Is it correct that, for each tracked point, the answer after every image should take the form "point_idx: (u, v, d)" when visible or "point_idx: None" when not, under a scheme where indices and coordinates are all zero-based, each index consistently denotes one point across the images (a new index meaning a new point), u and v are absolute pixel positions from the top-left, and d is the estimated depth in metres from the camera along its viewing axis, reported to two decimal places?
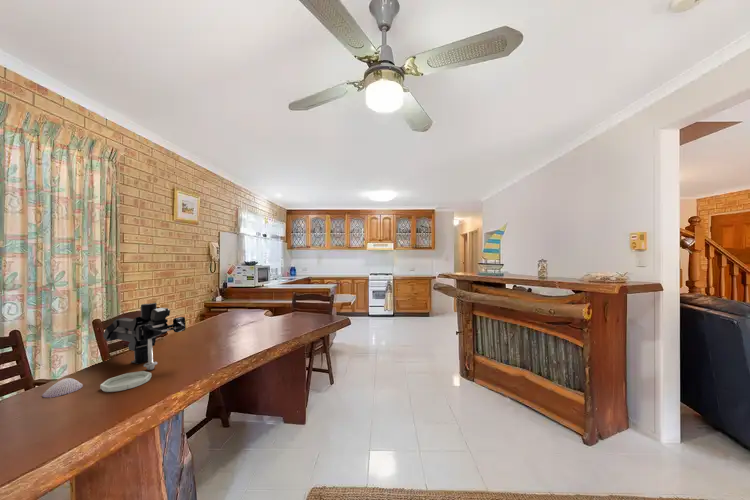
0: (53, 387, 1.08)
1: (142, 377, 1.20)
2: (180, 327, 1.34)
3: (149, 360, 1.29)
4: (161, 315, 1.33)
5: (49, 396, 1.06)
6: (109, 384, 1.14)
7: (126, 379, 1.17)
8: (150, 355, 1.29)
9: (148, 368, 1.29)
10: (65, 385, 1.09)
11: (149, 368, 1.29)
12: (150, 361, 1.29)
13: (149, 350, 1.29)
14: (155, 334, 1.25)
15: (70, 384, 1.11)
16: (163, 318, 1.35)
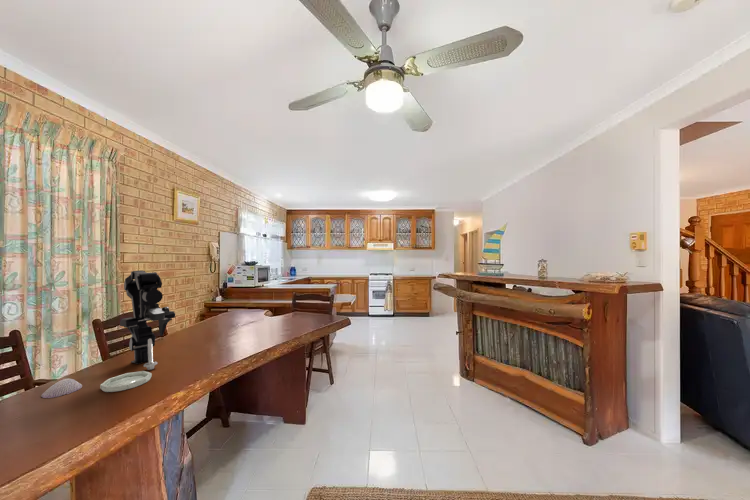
0: (52, 387, 1.08)
1: (142, 377, 1.20)
2: (160, 329, 1.34)
3: (149, 360, 1.29)
4: None
5: (48, 396, 1.06)
6: (109, 384, 1.14)
7: (126, 379, 1.17)
8: (150, 355, 1.29)
9: (148, 368, 1.29)
10: (64, 385, 1.09)
11: (149, 368, 1.29)
12: (150, 361, 1.29)
13: (149, 350, 1.29)
14: (133, 335, 1.25)
15: (69, 384, 1.10)
16: None
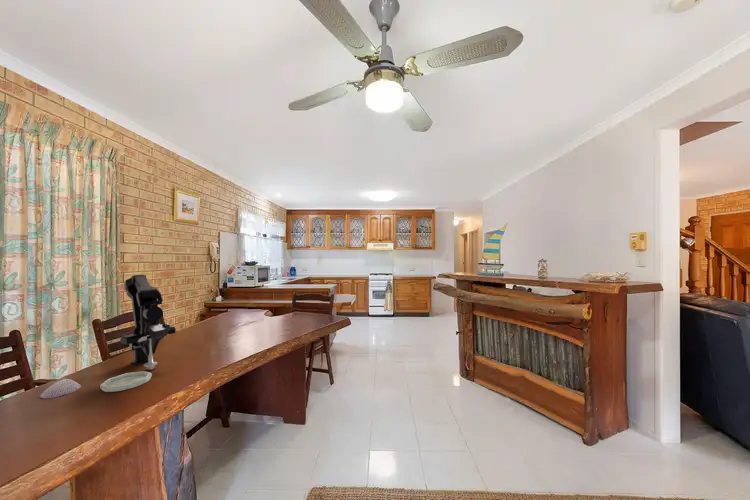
0: (51, 388, 1.08)
1: (142, 377, 1.20)
2: None
3: (149, 360, 1.29)
4: None
5: (47, 397, 1.05)
6: (109, 384, 1.14)
7: (126, 379, 1.17)
8: (150, 355, 1.29)
9: (148, 368, 1.29)
10: (63, 386, 1.09)
11: (149, 368, 1.29)
12: (150, 361, 1.29)
13: (149, 350, 1.29)
14: (143, 349, 1.28)
15: (68, 385, 1.10)
16: None
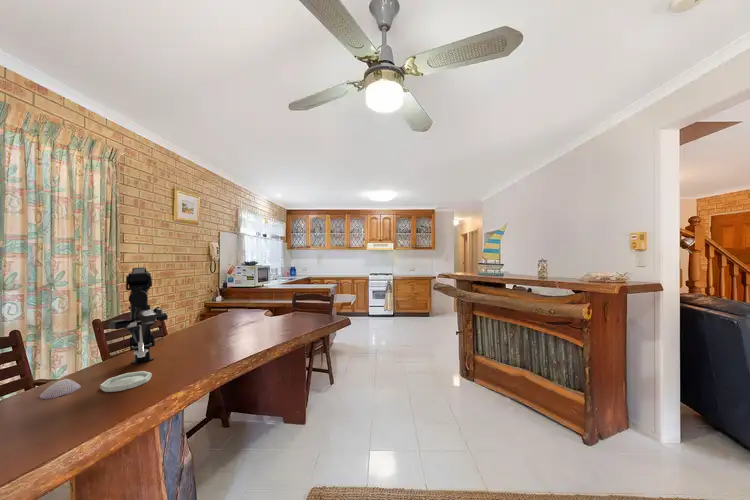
0: (50, 388, 1.07)
1: (142, 377, 1.20)
2: None
3: (139, 347, 1.23)
4: None
5: (46, 397, 1.05)
6: (109, 384, 1.14)
7: (126, 379, 1.17)
8: (140, 342, 1.23)
9: (139, 356, 1.22)
10: (63, 386, 1.09)
11: (140, 356, 1.22)
12: (141, 348, 1.23)
13: (139, 337, 1.23)
14: (133, 336, 1.22)
15: (68, 385, 1.10)
16: None
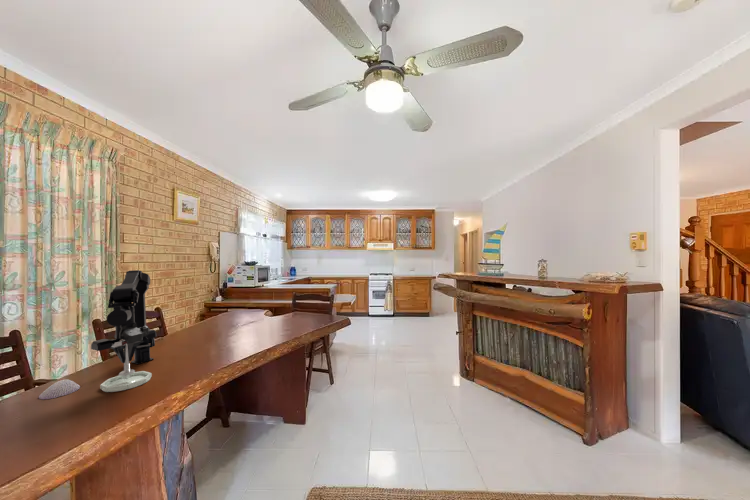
0: (50, 388, 1.07)
1: (142, 377, 1.20)
2: (129, 353, 1.17)
3: (125, 368, 1.15)
4: None
5: (46, 398, 1.05)
6: (109, 384, 1.14)
7: (126, 379, 1.17)
8: (126, 362, 1.15)
9: (124, 377, 1.15)
10: (62, 386, 1.08)
11: (125, 377, 1.15)
12: (126, 369, 1.15)
13: (125, 357, 1.15)
14: (118, 356, 1.14)
15: (67, 385, 1.09)
16: None
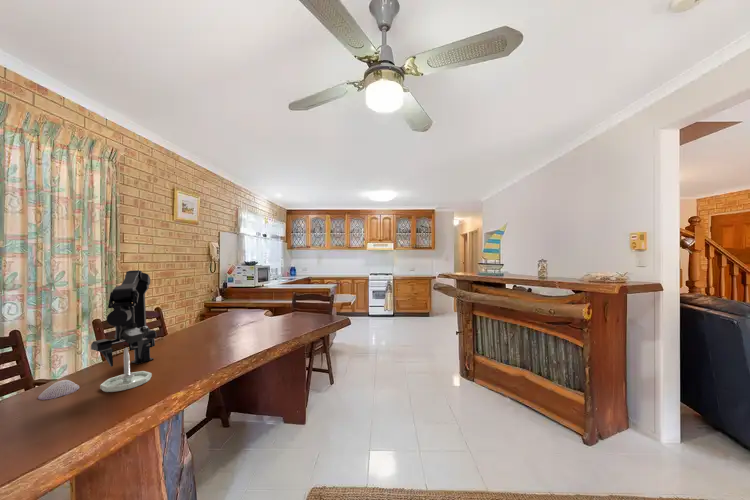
0: (49, 389, 1.07)
1: (142, 377, 1.20)
2: (139, 350, 1.20)
3: (125, 372, 1.15)
4: None
5: (45, 398, 1.04)
6: (109, 384, 1.14)
7: None
8: (126, 366, 1.15)
9: (124, 381, 1.14)
10: (61, 387, 1.08)
11: (125, 381, 1.14)
12: (126, 373, 1.15)
13: (125, 360, 1.15)
14: (107, 359, 1.11)
15: (66, 386, 1.09)
16: None
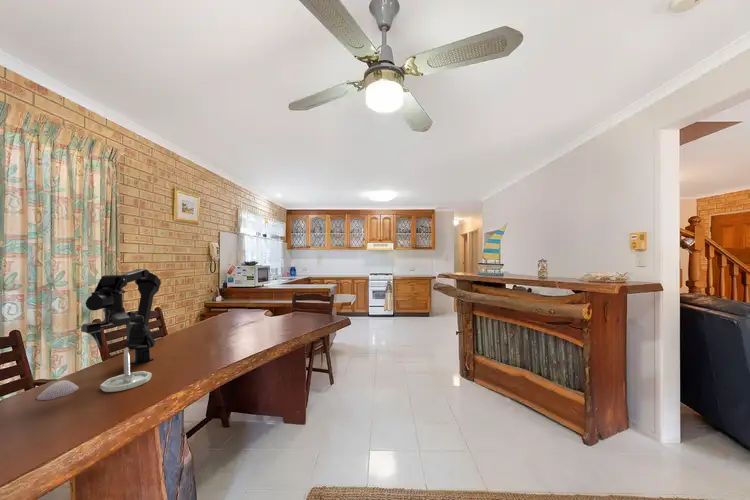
0: (48, 389, 1.06)
1: (142, 377, 1.20)
2: (127, 334, 1.27)
3: (125, 372, 1.15)
4: None
5: (44, 399, 1.04)
6: (109, 384, 1.14)
7: None
8: (126, 366, 1.15)
9: (124, 381, 1.14)
10: (60, 387, 1.08)
11: (125, 381, 1.14)
12: (126, 373, 1.15)
13: (125, 360, 1.15)
14: (96, 341, 1.19)
15: (66, 386, 1.09)
16: None
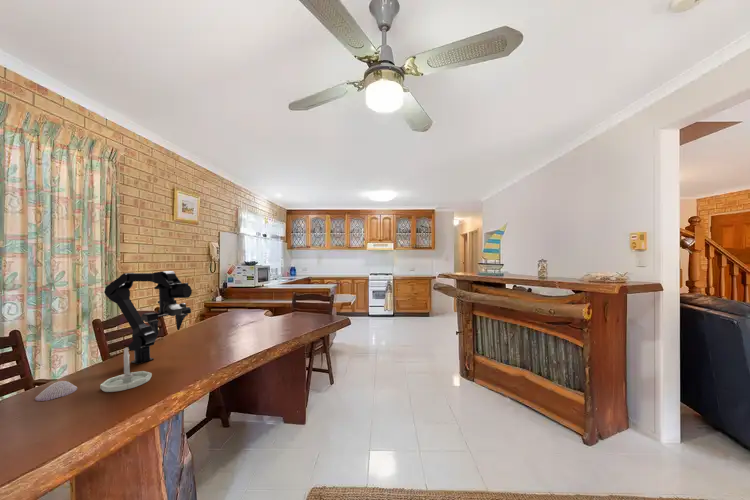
0: (46, 390, 1.06)
1: (142, 377, 1.20)
2: (177, 323, 1.44)
3: (125, 372, 1.15)
4: None
5: (43, 399, 1.04)
6: (109, 384, 1.14)
7: None
8: (126, 366, 1.15)
9: (124, 381, 1.14)
10: (59, 388, 1.07)
11: (125, 381, 1.14)
12: (126, 373, 1.15)
13: (125, 360, 1.15)
14: (153, 329, 1.35)
15: (64, 387, 1.08)
16: None
